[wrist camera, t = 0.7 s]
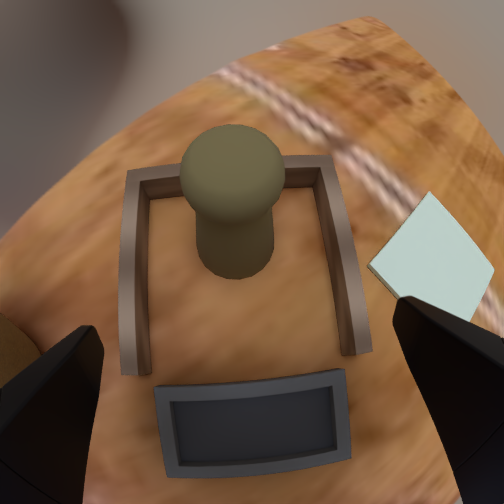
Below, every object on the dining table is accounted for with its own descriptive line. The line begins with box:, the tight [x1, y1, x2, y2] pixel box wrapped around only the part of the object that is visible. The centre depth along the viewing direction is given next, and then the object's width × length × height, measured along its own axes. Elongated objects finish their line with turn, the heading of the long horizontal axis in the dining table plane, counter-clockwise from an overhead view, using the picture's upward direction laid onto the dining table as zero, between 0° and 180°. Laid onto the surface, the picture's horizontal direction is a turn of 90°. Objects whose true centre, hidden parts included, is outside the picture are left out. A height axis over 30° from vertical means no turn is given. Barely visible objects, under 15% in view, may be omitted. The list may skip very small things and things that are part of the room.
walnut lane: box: [118, 155, 373, 375], centre depth 21 cm, size 15×16×3 cm
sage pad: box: [367, 192, 495, 322], centre depth 23 cm, size 11×11×1 cm
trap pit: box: [154, 368, 351, 478], centre depth 18 cm, size 7×13×2 cm, turn 96°
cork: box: [179, 124, 285, 279], centre depth 18 cm, size 6×6×11 cm
